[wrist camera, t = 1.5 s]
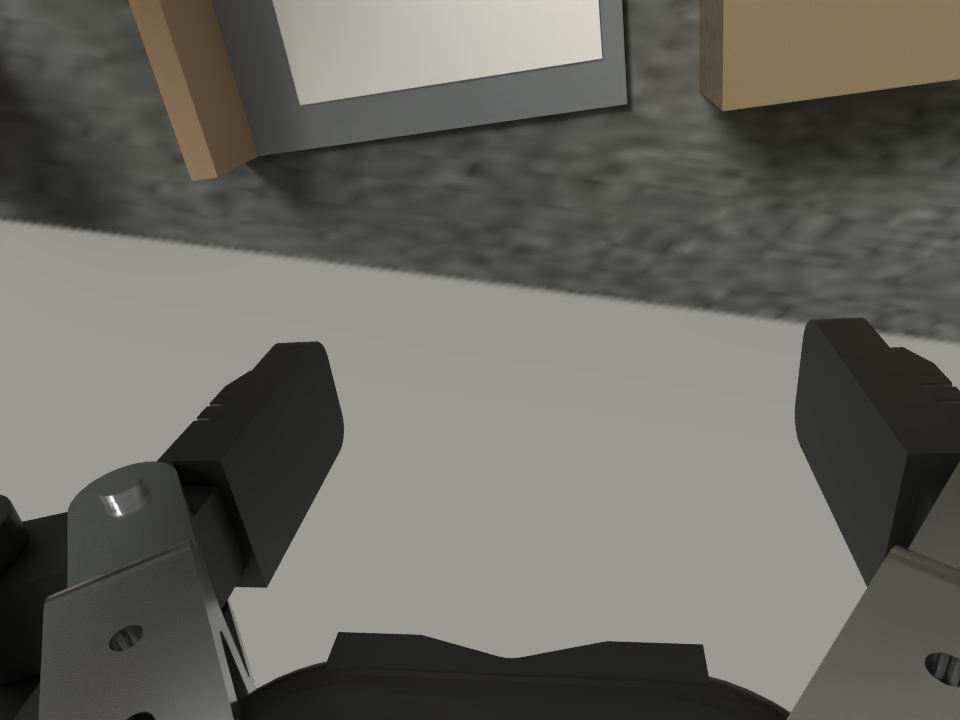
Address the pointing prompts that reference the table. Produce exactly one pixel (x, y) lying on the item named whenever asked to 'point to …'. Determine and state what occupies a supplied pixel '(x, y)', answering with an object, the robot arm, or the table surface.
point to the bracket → (823, 48)
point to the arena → (370, 69)
